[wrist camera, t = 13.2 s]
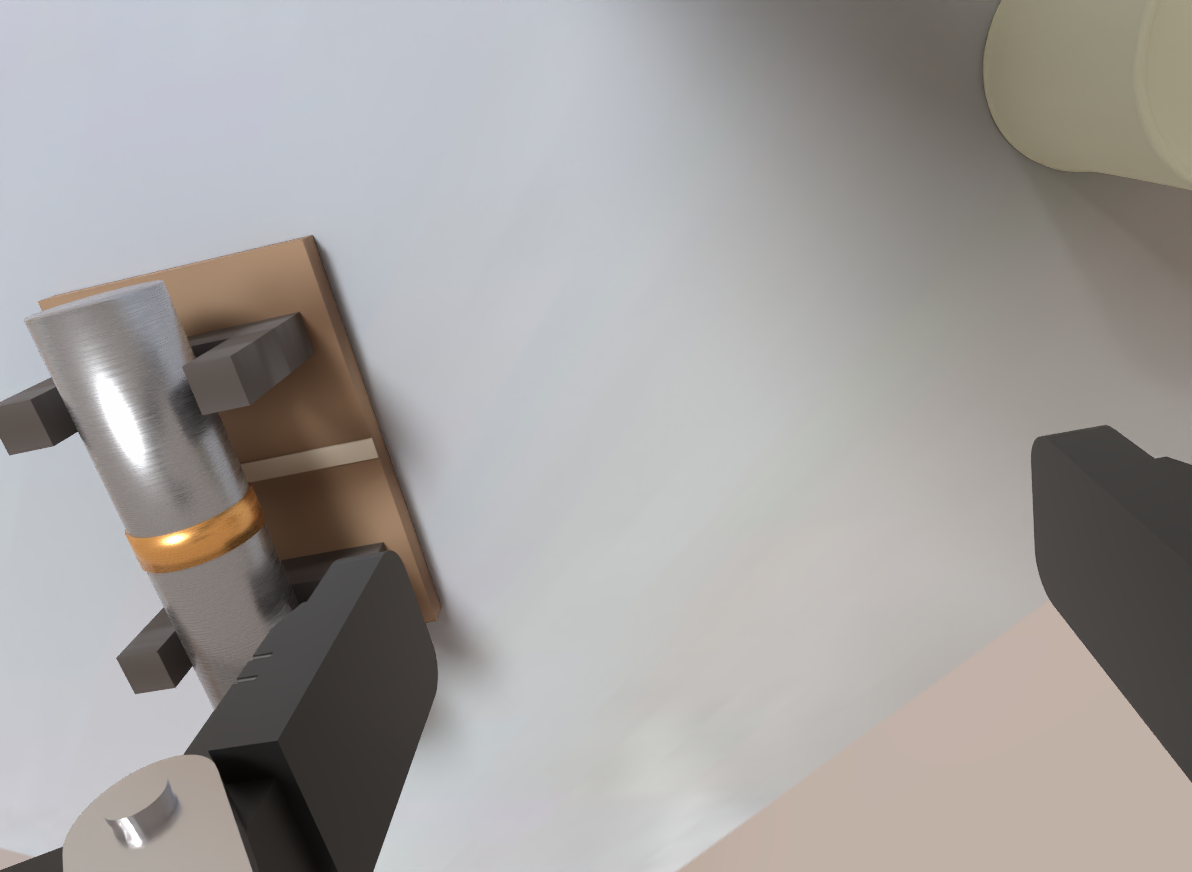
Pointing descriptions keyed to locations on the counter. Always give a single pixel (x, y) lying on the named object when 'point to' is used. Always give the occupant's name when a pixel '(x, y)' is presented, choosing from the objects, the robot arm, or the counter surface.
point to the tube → (168, 473)
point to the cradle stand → (265, 424)
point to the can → (1095, 85)
